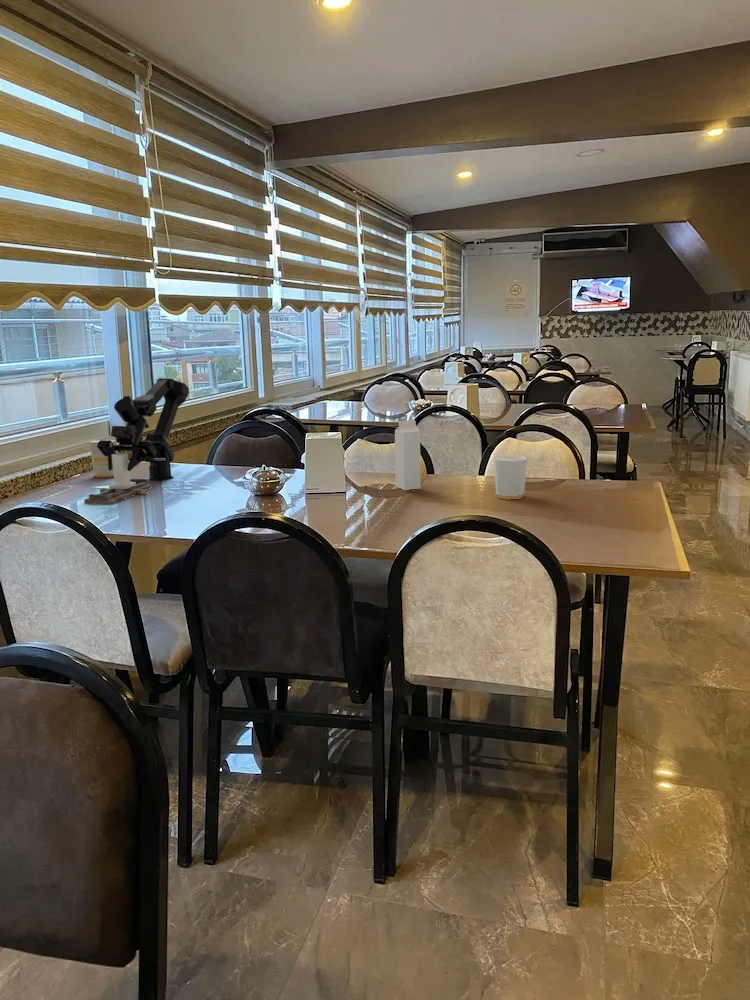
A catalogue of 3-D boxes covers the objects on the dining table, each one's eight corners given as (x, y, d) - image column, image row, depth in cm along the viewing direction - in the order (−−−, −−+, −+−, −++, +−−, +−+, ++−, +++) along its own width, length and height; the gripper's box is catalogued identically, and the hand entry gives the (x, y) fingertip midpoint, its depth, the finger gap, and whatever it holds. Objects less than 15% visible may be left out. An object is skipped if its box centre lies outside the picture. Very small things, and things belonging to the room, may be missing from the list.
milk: (395, 488, 246) (394, 420, 241) (411, 486, 249) (410, 419, 244) (404, 491, 241) (403, 422, 236) (421, 489, 243) (420, 420, 238)
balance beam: (118, 486, 258) (118, 478, 258) (161, 487, 255) (161, 479, 254) (75, 503, 235) (74, 494, 234) (122, 504, 231) (121, 495, 230)
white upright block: (119, 487, 250) (116, 452, 247) (136, 488, 248) (133, 452, 246) (109, 491, 244) (106, 455, 241) (126, 492, 243) (123, 455, 240)
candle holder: (494, 493, 236) (494, 454, 234) (526, 493, 234) (527, 455, 232) (492, 500, 227) (493, 460, 224) (526, 501, 225) (527, 461, 222)
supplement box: (120, 475, 278) (117, 439, 275) (115, 477, 274) (111, 441, 271) (99, 475, 279) (95, 439, 276) (93, 477, 275) (89, 441, 272)
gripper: (96, 415, 247) (80, 455, 239) (149, 416, 243) (134, 456, 235) (112, 436, 256) (97, 474, 248) (163, 436, 252) (149, 476, 244)
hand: (118, 470), depth 243 cm, fingers open, 6 cm apart
